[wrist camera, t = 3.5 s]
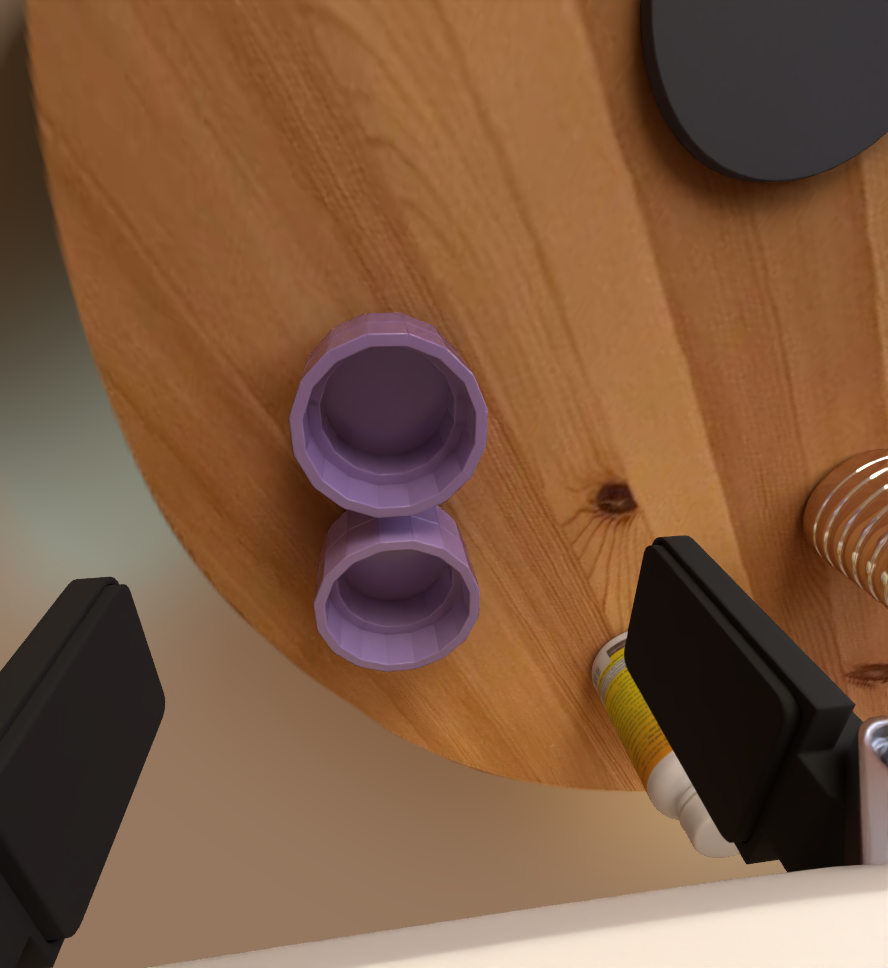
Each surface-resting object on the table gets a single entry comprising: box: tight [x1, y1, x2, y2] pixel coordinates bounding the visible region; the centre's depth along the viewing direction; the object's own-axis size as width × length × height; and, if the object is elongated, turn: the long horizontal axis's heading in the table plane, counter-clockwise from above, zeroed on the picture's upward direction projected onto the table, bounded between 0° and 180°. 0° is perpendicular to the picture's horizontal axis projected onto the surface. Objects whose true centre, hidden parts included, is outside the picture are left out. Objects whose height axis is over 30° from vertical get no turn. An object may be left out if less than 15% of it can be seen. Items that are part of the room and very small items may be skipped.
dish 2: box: [314, 505, 480, 672], centre depth 25 cm, size 7×7×4 cm
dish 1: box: [289, 313, 488, 518], centre depth 21 cm, size 7×7×4 cm
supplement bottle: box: [591, 631, 740, 858], centre depth 28 cm, size 6×6×10 cm
